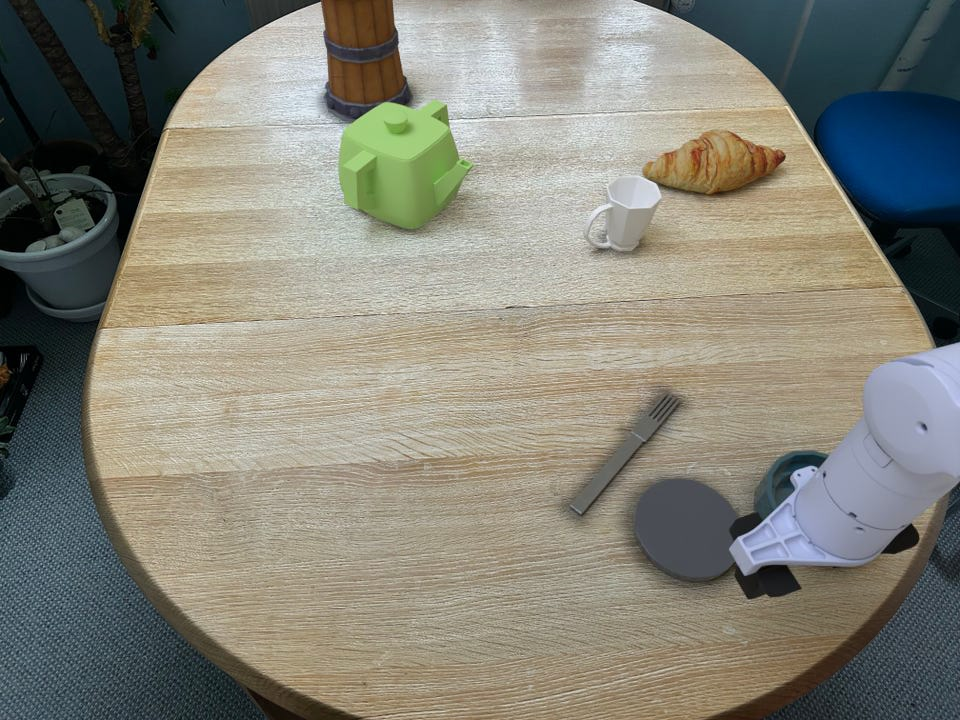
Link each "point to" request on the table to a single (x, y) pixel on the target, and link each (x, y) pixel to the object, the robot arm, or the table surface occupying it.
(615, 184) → the cup
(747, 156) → the croissant
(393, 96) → the mug
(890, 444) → the robot arm
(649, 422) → the fork
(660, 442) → the table surface
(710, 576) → the plate
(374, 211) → the teapot
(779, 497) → the bowl
